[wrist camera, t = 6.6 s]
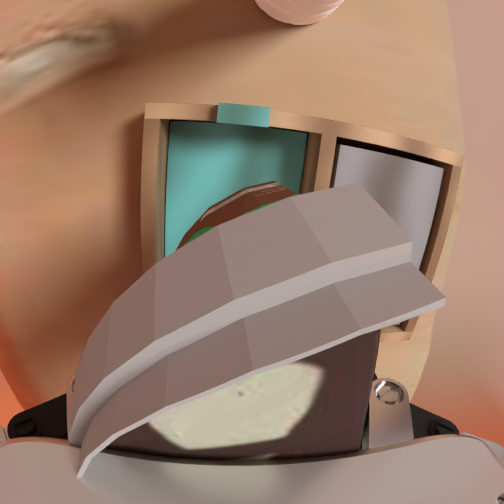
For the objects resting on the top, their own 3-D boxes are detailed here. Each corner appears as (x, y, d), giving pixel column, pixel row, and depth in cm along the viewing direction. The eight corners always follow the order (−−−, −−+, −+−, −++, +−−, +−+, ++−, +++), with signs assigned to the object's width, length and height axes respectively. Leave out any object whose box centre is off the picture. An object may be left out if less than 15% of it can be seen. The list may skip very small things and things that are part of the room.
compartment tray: (438, 148, 23) (470, 155, 19) (393, 319, 29) (412, 345, 25) (157, 104, 20) (142, 100, 16) (154, 311, 26) (144, 342, 22)
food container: (110, 170, 11) (-99, 318, 2) (269, 141, 11) (457, 238, 2) (183, 396, 16) (175, 566, 7) (293, 382, 16) (337, 551, 7)
